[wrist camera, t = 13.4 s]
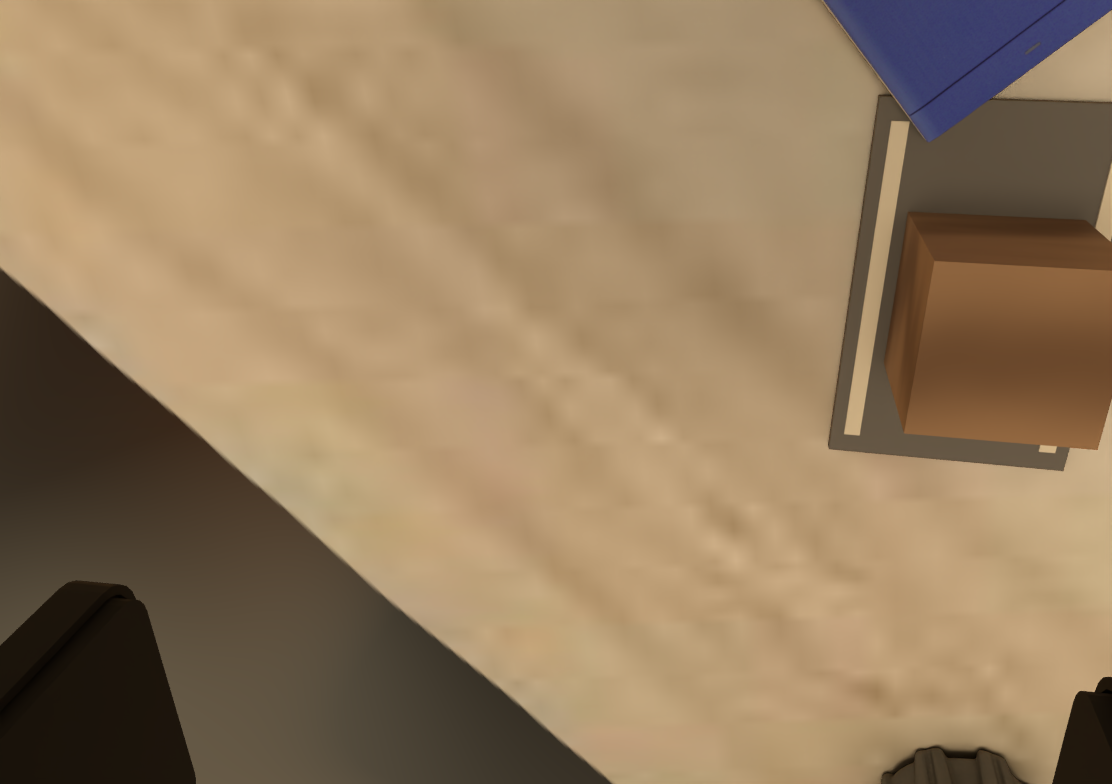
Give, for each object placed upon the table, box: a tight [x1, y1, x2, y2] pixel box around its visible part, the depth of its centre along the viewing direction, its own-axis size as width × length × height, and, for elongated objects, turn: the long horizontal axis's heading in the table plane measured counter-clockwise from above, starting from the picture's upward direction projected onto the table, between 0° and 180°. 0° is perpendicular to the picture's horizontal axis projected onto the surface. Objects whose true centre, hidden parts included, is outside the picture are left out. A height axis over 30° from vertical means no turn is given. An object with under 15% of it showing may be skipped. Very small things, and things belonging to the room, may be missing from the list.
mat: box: [828, 95, 1112, 471], centre depth 36 cm, size 14×9×1 cm, turn 179°
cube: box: [884, 212, 1112, 450], centre depth 33 cm, size 6×6×6 cm
